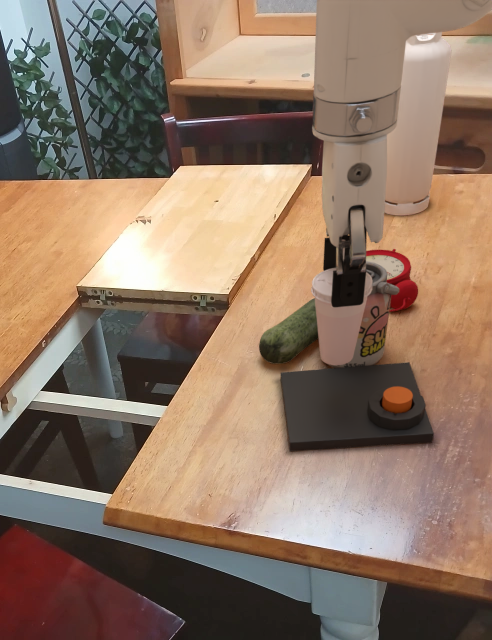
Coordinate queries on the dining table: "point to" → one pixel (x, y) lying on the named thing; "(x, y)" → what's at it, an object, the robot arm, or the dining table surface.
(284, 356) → the vegetable
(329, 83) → the robot arm
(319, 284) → the smoothie
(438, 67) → the bottle
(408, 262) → the alarm clock
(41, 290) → the dining table surface
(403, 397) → the button
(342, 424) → the grey button plate
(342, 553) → the dining table surface
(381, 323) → the beverage can
